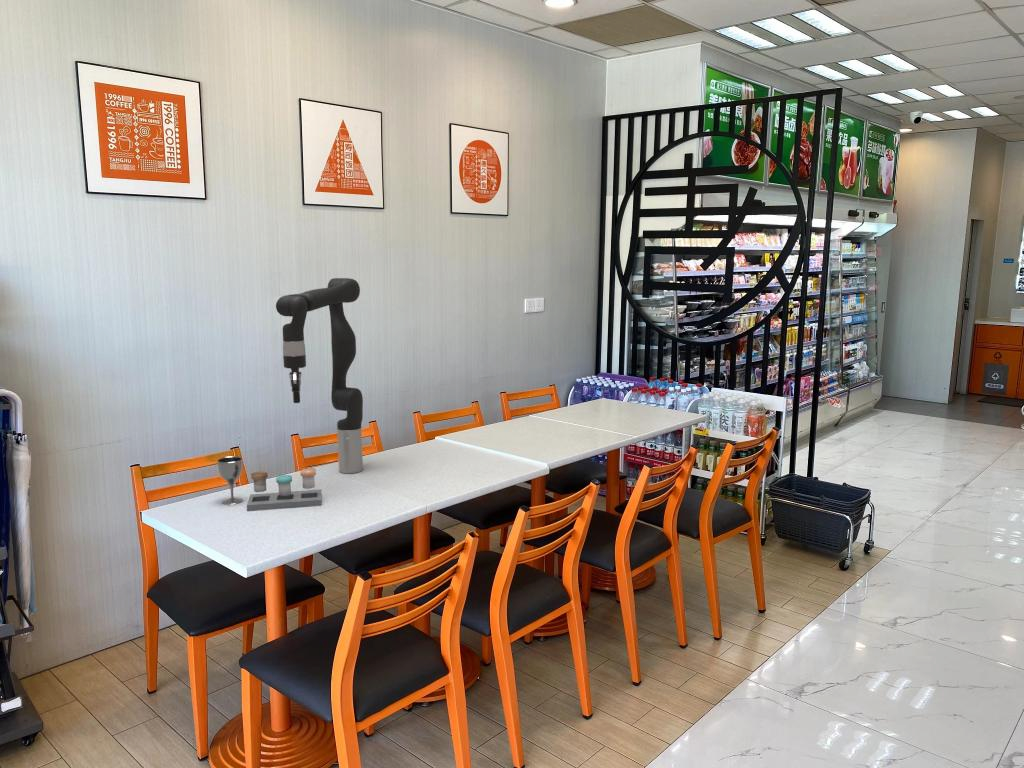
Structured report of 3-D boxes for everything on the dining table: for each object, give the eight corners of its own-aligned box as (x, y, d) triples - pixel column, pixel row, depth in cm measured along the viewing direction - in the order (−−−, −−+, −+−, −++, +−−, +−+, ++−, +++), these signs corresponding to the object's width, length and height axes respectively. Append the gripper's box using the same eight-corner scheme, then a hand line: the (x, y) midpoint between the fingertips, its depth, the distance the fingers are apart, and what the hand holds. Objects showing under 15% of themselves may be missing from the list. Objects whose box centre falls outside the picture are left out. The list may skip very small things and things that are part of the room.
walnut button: (253, 488, 264) (252, 471, 263) (268, 487, 265) (267, 470, 264) (251, 493, 259) (250, 476, 258) (267, 492, 260) (266, 475, 259)
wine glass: (216, 504, 263) (212, 462, 261) (227, 497, 271) (224, 456, 268) (237, 505, 262) (235, 462, 260) (248, 498, 270) (246, 456, 267)
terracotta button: (301, 485, 268) (300, 468, 267) (316, 484, 269) (315, 467, 268) (300, 489, 263) (299, 472, 262) (316, 488, 264) (315, 471, 263)
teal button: (277, 492, 266) (276, 475, 265) (293, 491, 267) (292, 474, 266) (276, 496, 261) (275, 479, 260) (292, 495, 262) (291, 478, 261)
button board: (250, 499, 268) (250, 494, 267) (321, 494, 273) (321, 489, 273) (247, 511, 256) (246, 505, 256) (321, 505, 262) (320, 499, 261)
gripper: (284, 351, 272) (286, 399, 275) (281, 356, 260) (284, 406, 263) (306, 351, 274) (308, 398, 277) (304, 355, 261) (307, 405, 264)
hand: (296, 402), depth 270 cm, fingers closed
